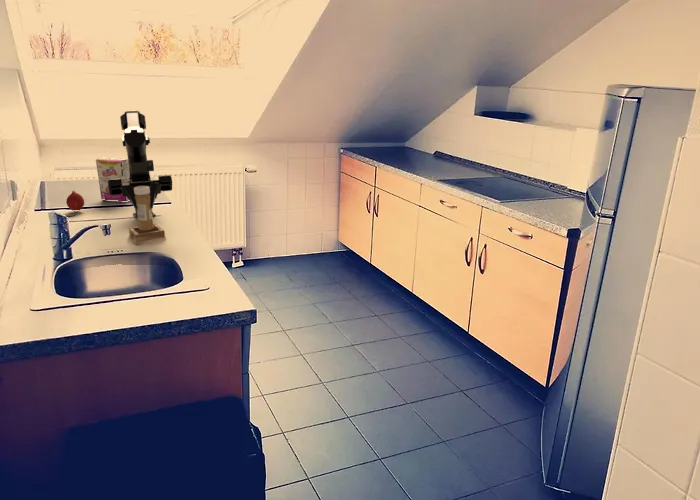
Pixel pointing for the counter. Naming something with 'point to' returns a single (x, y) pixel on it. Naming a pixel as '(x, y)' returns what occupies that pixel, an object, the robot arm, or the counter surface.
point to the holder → (146, 235)
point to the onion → (75, 201)
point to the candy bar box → (112, 175)
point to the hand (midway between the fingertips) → (144, 208)
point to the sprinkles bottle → (143, 207)
